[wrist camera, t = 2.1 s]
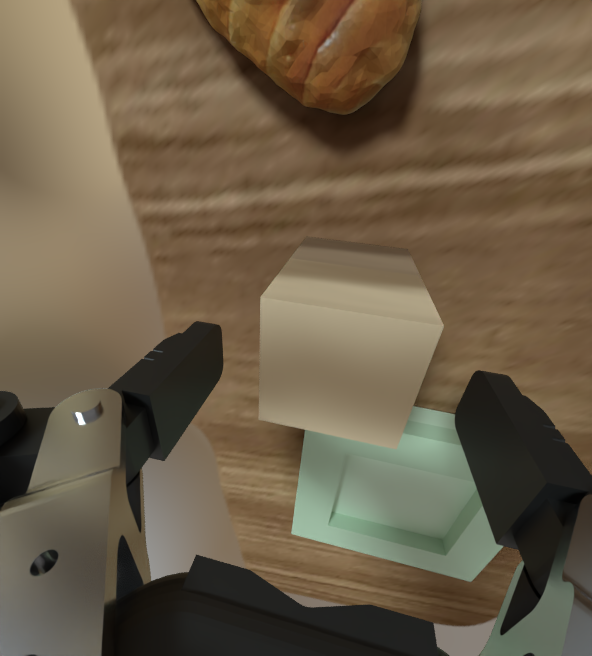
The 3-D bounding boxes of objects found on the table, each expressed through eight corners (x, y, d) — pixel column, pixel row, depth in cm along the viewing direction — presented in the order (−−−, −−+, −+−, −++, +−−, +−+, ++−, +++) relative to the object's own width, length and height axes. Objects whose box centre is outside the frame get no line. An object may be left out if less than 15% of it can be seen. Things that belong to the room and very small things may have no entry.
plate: (313, 386, 18) (307, 413, 16) (549, 432, 16) (573, 469, 14) (297, 505, 24) (291, 533, 22) (462, 547, 23) (471, 582, 21)
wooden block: (306, 236, 13) (260, 297, 8) (407, 248, 13) (443, 325, 7) (298, 321, 16) (258, 419, 10) (384, 335, 15) (396, 449, 9)
